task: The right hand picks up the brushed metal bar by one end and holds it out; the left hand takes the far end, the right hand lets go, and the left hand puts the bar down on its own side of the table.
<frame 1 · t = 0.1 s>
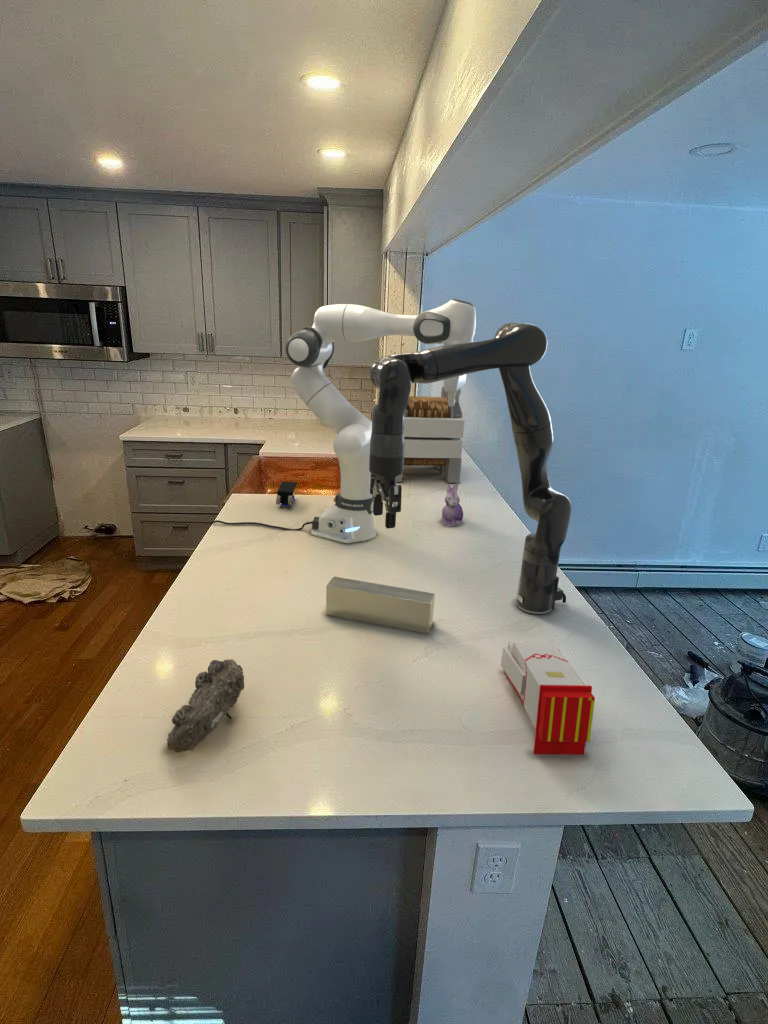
left hand: (453, 403, 174), 48 cm above the counter, tool pointing down, fingers open, 8 cm apart
right hand: (383, 521, 129), 29 cm above the counter, tool pointing down, fingers open, 8 cm apart
figurine character: (286, 504, 224), on the counter
toy: (537, 705, 115), on the counter
fossil: (212, 717, 108), on the counter
bar: (379, 618, 145), on the counter
figurine: (451, 522, 213), on the counter
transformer: (419, 473, 275), on the counter
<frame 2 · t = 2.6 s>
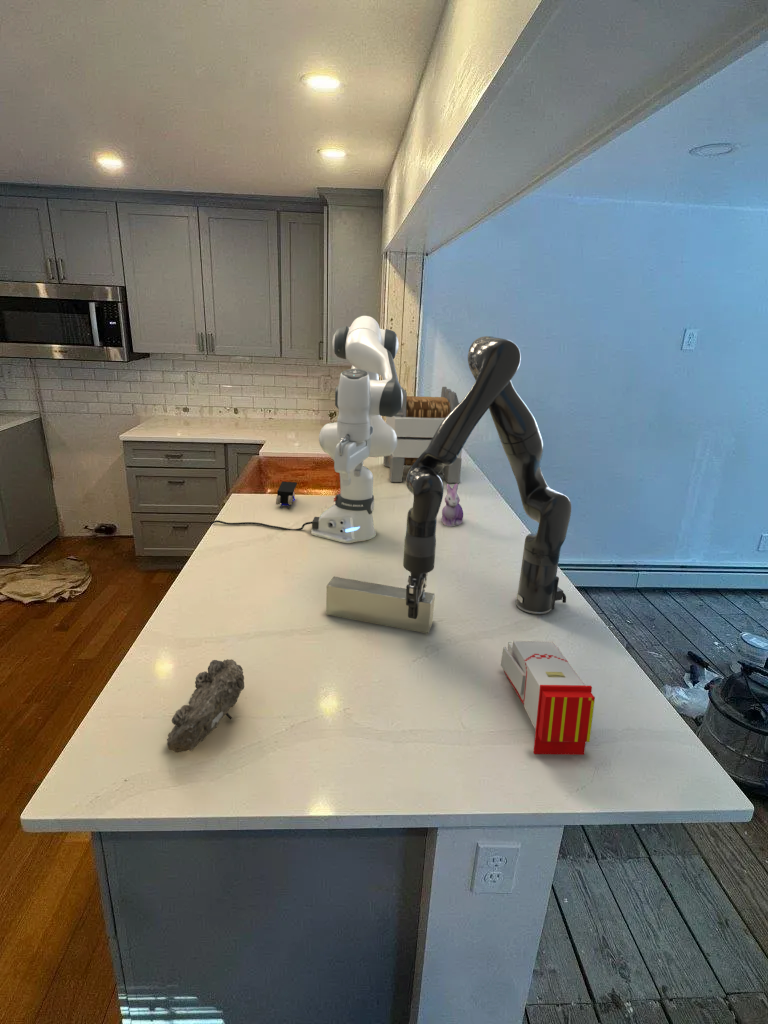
left hand: (352, 480, 158), 29 cm above the counter, tool pointing down, fingers open, 8 cm apart
right hand: (415, 611, 141), 4 cm above the counter, tool pointing down, fingers closed on bar, 5 cm apart
bar: (379, 618, 145), on the counter, touching right hand
everything else where it was.
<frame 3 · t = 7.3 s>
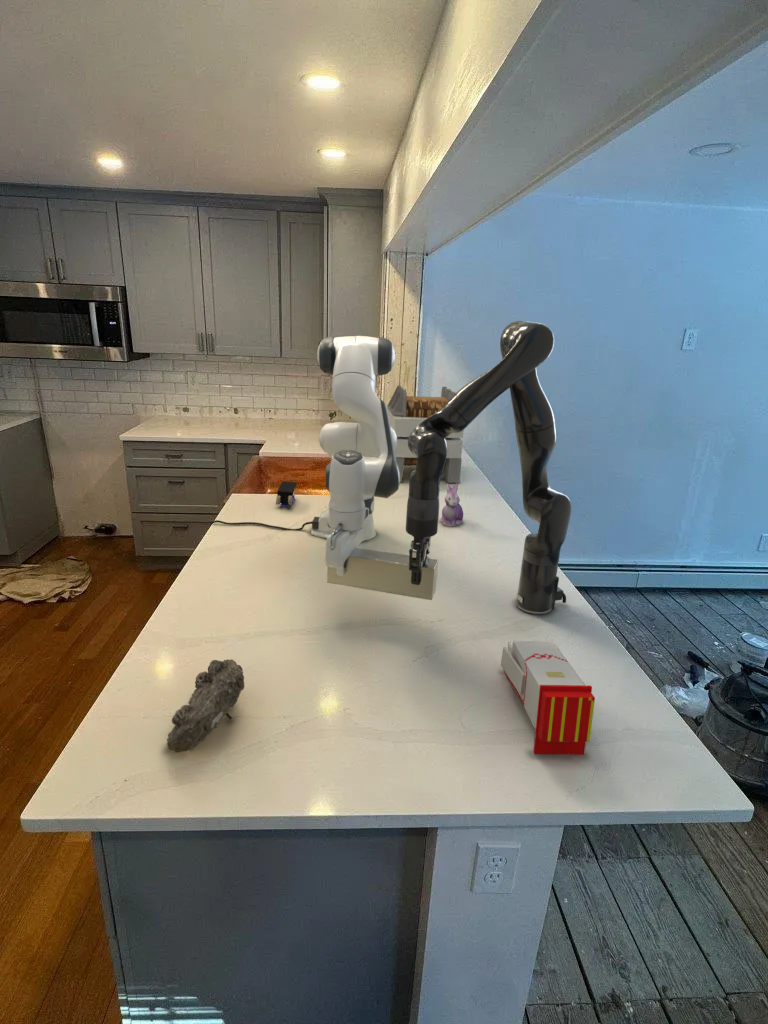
left hand: (345, 569, 143), 12 cm above the counter, tool pointing down, fingers closed on bar, 5 cm apart
right hand: (418, 578, 138), 13 cm above the counter, tool pointing down, fingers closed on bar, 5 cm apart
bar: (381, 586, 142), point 9 cm above the counter, touching left hand, right hand
everything else where it was.
when the right hand's fingers open (13 cm above the counter, at t = 8.3 s): bar stays where it is, held by the left hand.
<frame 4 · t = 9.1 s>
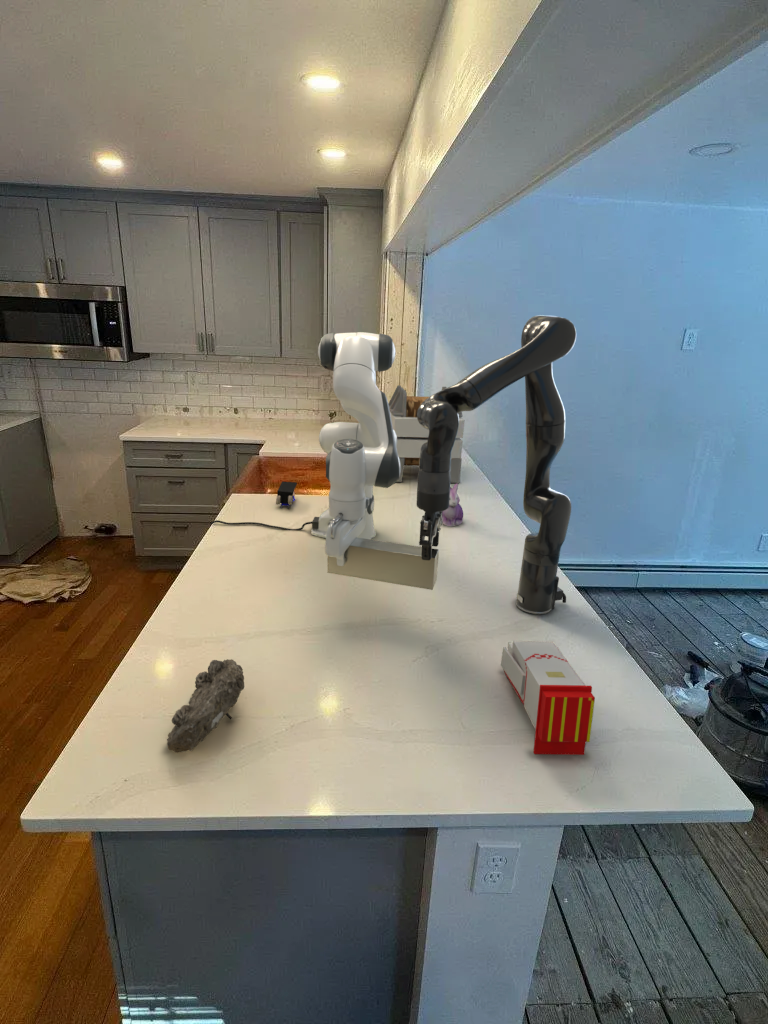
left hand: (345, 559, 142), 15 cm above the counter, tool pointing down, fingers closed on bar, 5 cm apart
right hand: (430, 552, 135), 20 cm above the counter, tool pointing down, fingers open, 8 cm apart
bar: (381, 576, 141), point 12 cm above the counter, touching left hand
everything else where it was.
when the left hand's fingers open (5 cm above the counter, at t = 12.4 s): bar drops 1 cm, on the counter.
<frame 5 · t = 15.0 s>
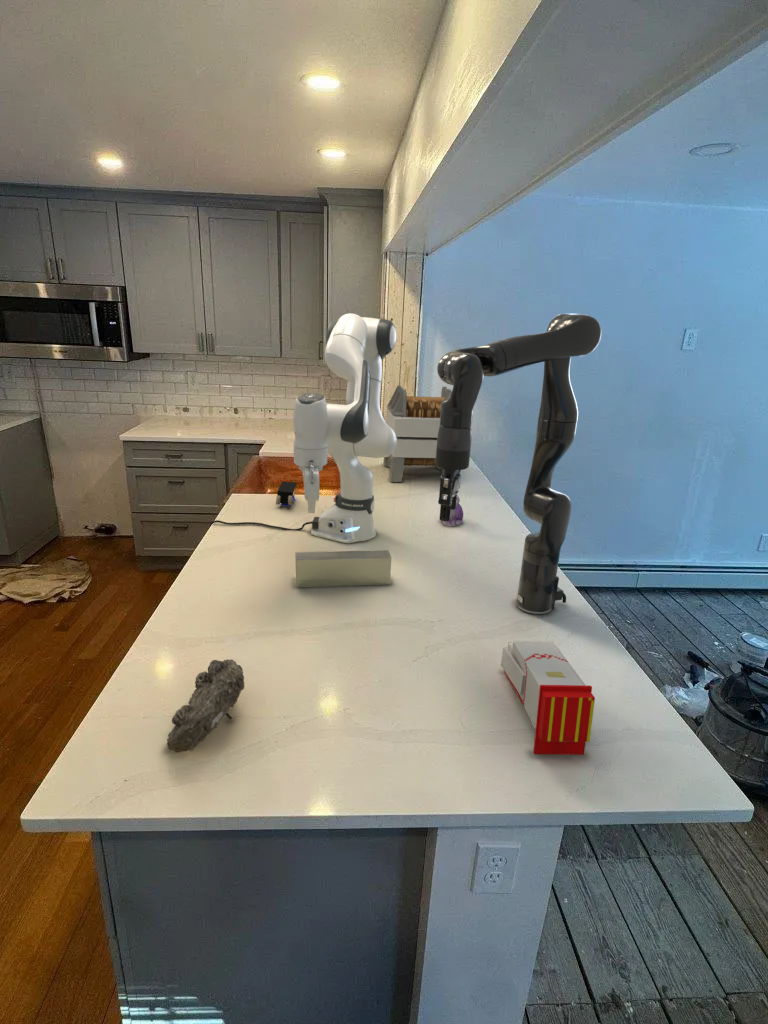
left hand: (310, 506, 154), 23 cm above the counter, tool pointing down, fingers open, 8 cm apart
right hand: (447, 514, 131), 31 cm above the counter, tool pointing down, fingers open, 8 cm apart
bar: (342, 581, 164), on the counter
everything else where it was.
at the end: bar inside the target area (9.2 cm from its centre), on the counter; the left hand is holding nothing; the right hand is holding nothing; bar at rest at the end (0.0 cm/s) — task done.
